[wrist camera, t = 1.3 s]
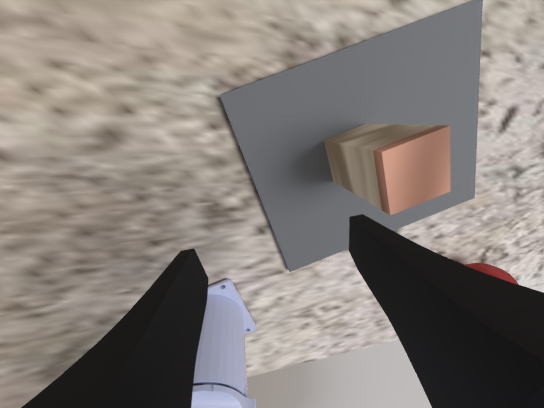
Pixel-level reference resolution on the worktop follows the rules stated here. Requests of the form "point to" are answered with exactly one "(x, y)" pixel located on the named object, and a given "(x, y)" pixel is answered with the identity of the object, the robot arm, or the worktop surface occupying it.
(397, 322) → the robot arm
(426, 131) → the block
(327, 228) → the mat
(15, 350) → the worktop surface
